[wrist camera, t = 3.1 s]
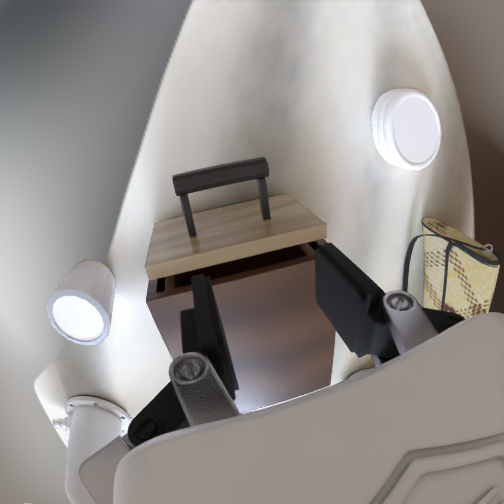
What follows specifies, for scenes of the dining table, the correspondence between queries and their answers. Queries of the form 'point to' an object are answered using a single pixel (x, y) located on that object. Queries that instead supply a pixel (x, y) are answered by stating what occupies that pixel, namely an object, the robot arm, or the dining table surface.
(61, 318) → the white cylinder
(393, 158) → the white round disc
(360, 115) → the dining table surface
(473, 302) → the clutch purse
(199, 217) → the drawer
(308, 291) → the cabinet
